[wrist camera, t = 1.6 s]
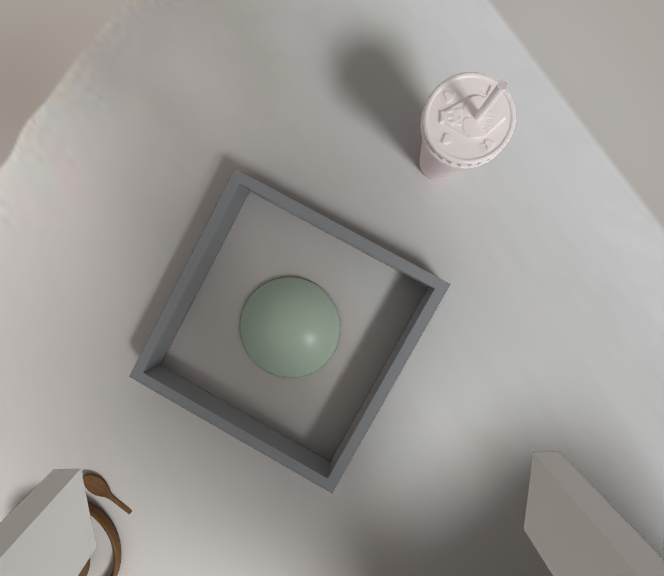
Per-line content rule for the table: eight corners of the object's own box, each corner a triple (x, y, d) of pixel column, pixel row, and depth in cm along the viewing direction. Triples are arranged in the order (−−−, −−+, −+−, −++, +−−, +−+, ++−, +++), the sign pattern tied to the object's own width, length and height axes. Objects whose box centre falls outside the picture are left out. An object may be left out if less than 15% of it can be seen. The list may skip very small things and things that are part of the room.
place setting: (68, 639, 40) (19, 702, 34) (-67, 520, 41) (-138, 562, 35) (163, 523, 39) (128, 568, 33) (22, 403, 39) (-36, 425, 33)
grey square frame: (442, 283, 35) (450, 284, 32) (334, 475, 37) (332, 493, 34) (245, 177, 36) (235, 168, 33) (147, 368, 38) (129, 376, 35)
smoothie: (471, 196, 35) (547, 142, 21) (403, 194, 35) (432, 141, 21) (474, 127, 34) (554, 26, 20) (406, 126, 35) (438, 28, 21)
